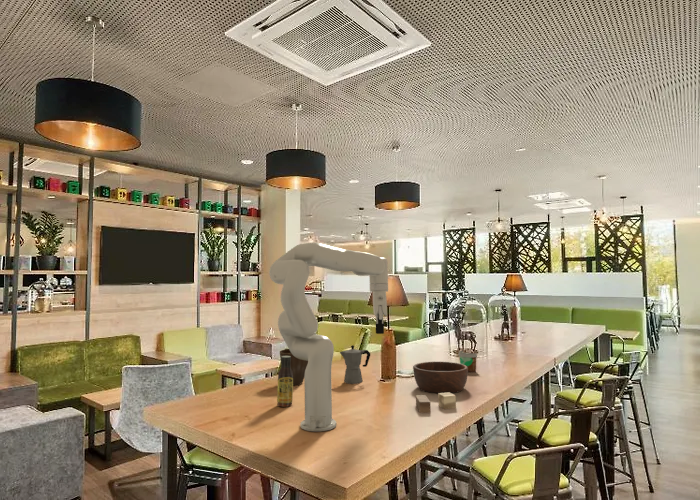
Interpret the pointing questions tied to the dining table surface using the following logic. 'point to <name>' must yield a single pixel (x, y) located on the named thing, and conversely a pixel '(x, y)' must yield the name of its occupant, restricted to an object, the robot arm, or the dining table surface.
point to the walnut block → (423, 404)
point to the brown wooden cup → (296, 367)
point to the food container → (468, 360)
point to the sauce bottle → (285, 383)
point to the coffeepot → (354, 364)
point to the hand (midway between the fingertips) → (379, 333)
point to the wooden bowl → (440, 376)
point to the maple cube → (447, 400)
